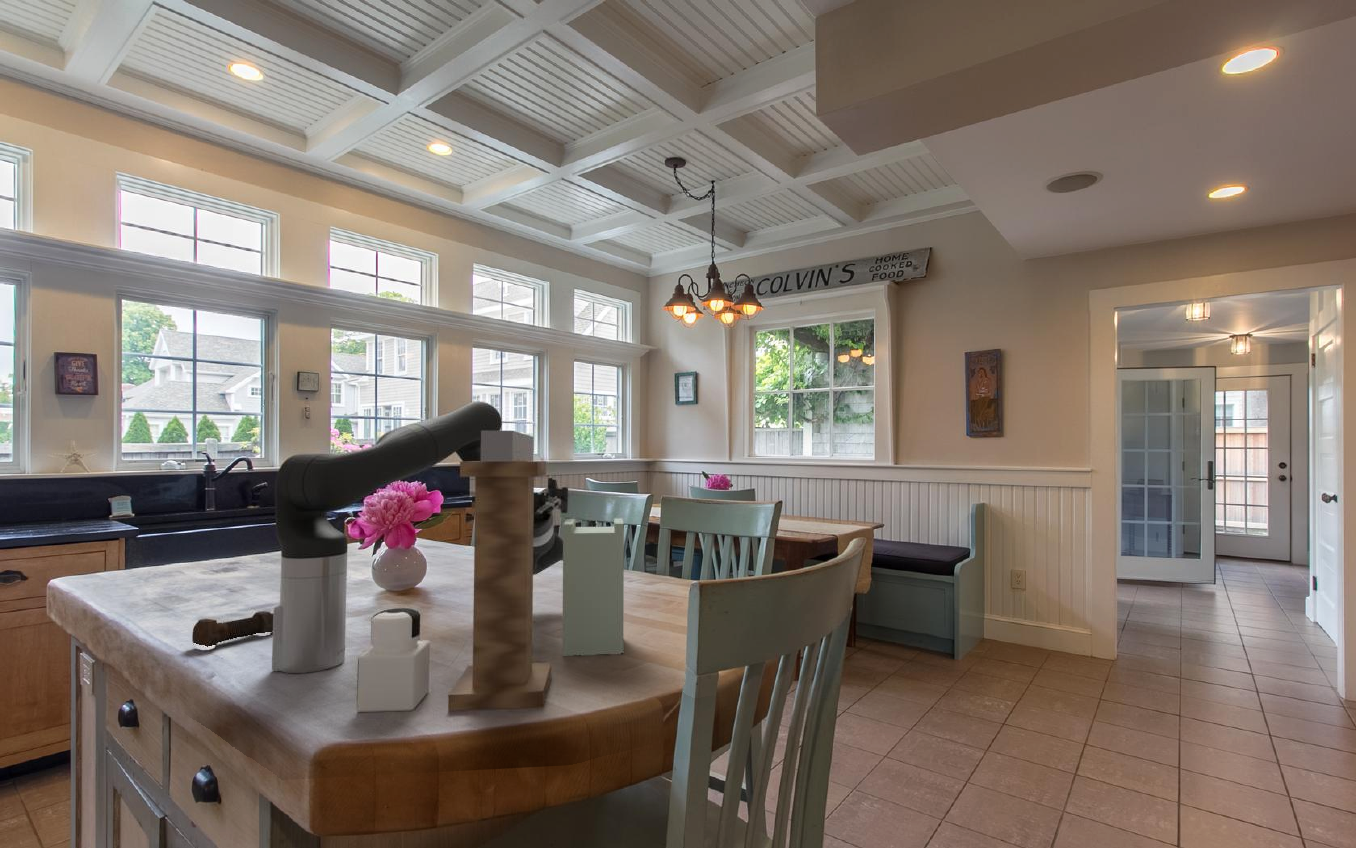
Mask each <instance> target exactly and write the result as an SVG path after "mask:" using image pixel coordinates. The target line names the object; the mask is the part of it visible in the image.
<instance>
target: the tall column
mask: <svg viewBox="0 0 1356 848" xmlns="http://www.w3.org/2000/svg"><path fill="white" fill-rule="evenodd" d="M545 475H547V461H544V460H539V461H538V460H535V461H534V460H533V461H511V462H481V461H467V462H463V461H459V477H460V478H465V477H466V478H467V477H468V478H472V477H473V478H474V479H475V483H474V488H475V491H474V544H473V545H474V548H473V549H474V551H473V552H474V553H473V555H474V556H473V560H474V561H473V565H474V567H473V568H474V569H473V615H472V617H473V618H472V619H473V627H472V631H473V632H472V665H467V667H466V668H465V670H464V671H463V673H462V674H461V676H460V677H459V679H458V680H457V681H456V683H455V684H454V686H453V687H452V689H451V691H450V692H449V694H448V699H447V701H448V702H447V703H448V707H447V711H449V712H452V711H476V710H477V711H479V710H497V709H498V710H499V709H500V710H501V709H502V710H504V709H524V708H525V709H526V708H543V707H544V704H545V700H546V697H547V693H548V689H549V685H550V682H551V677H552V662H535V663H533V619H534V618H533V614H534V611H533V607H534V606H533V604H534V603H533V602H534V600H533V598H534V593H533V591H534V590H533V589H534V575H533V519H534V493H535V492H534V491H535V487H534V486H535V477H541V476H545Z"/></svg>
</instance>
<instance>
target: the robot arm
mask: <svg viewBox="0 0 1356 848" xmlns="http://www.w3.org/2000/svg"><path fill="white" fill-rule="evenodd" d="M502 423H503V422H502V417H501V414H500V413H499V411H498V410H497V408H496V407H494V406H493V405H491V404H489V403H487V402H485V401H479V400H478V401H472V402H469V403H467V404H466V405H464V406H462V407H460V408H458V409H456V410H455V411H451V412H449V413H447V414H443V415H438V416H435V417H431V418H427V419H423V420H421V421H417V422H413V423H409V424H406V425H403V426H400V427H396V428H394V429H392V430H389V431H388V432H386V433H384V434H383V435H382V436H381V437H380V438H378V440H376V443H375V444H374V445H372V446H370V447H366V448H363V449H358V450H355V451H349V452H341V453H340V452H339V453H298V454H294V455H292V456H290V457H288V458H287V459H286V460H284V461H283V463H282V464H281V466H280V467H279V470H278V472H277V475H276V479H275V484H274V507H275V508H274V510H275V512H274V513H275V533H276V538H277V541H278V543H279V545H280V550H281V552H280V554H281V555H280V556H281V557H280V593H279V605H277V606H274V608H273V612H272V614H273V632H272V645H271V646H272V653H271V671H272V670H280V671H279V672H283V673H288V674H299V673H302V674H303V673H311V672H319V671H323V670H328V669H331V668H333V667H336V666H339V665H340V664H342V663H344V661H345V659H346V658H345V655H346V627H347V626H346V623H347V621H346V620H347V617H346V616H347V585H348V584H347V583H348V582H347V581H348V578H347V577H348V571H347V570H348V547H349V546H348V543H349V542H348V538H347V537H348V536H347V535H346V534H345V533H343V532H341V531H340V530H338V529H336V528H335V527H334V526H333V525H332V524H331V523H330V521H329V520H328V515H327V514H328V513H329V512H336V511H340V510H344V509H346V508H348V507H350V506H352V505H354V504H355V503H357V502H359V501H361V500H362V499H364V498H365V497H367V496H369V495H370V494H372V493H374V492H375V491H377V490H379V489H380V488H383V487H385V486H387V485H390V484H392V483H396V482H398V481H401V480H403V479H405V478H408V477H411V476H415V475H417V474H419V473H421V472H423V471H426V470H428V469H430V468H431V467H433V466H437V464H439V463H440V462H442V461H444V460H445V459H447V458H449V457H450V456H451V455H453V454H455V453H456V454H457V456H458V457H459V458H460V460H461V462H467V461H481V431H501V429H502ZM568 506H569V488H568V487H565V486H563V487H561V488H559V487H558V481H557V480H556V479H553V477H552V476H548V479H547V488H546V487H545V488H544V489H542V490H541V491H540V492H534V519H533V576H535V575H538V574H540V573H541V572H544V571H545V570H546V569H548V568H550V567H551V566H553V565H555V564H556V563H558V562H560V561H563V538H561V537H560V536H559V534H557V532H556V531H555V520H554V515H553V510H558V511H560V513H561V514H567V513H568V510H569V509H568ZM327 512H328V513H327Z"/></svg>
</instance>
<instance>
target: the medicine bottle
mask: <svg viewBox="0 0 1356 848" xmlns="http://www.w3.org/2000/svg"><path fill="white" fill-rule="evenodd" d="M370 621H371V623H370V645H371V647H370V648H368V649H367V650H366V651H365V652H363V653H362V654H360V655H359V656H358V658H357V687H356V689H357V691H356V711H357V712H358V713H377V712H381V713H382V712H383V713H384V712H407V711H410V712H411V711H413V710H414V709H416V707H417V706H418V705H419V703H421V701H422V700H423V699H424V698H425V696H426V695H427V694H428V693H429V691H430V664H431V663H430V659H431V658H430V656H431V655H430V653H431V651H430V650H431V642H430V641H429V640H428V639H427V640H420V638H421V637H420V636H421V613H420V612H419V611H418V610H415V609H413V608H408V607H407V608H406V607H404V608H403V607H399V608H398V607H397V608H396V607H395V608H391V609H390V608H389V609H384V610H380V611H379V612H377V613H376V614H373V616H372V617H371V619H370Z"/></svg>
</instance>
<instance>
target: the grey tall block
mask: <svg viewBox="0 0 1356 848" xmlns="http://www.w3.org/2000/svg"><path fill="white" fill-rule="evenodd" d="M562 528H563V530H562V533H563V535H562V540H563V559H562V632H561V633H562V639H561V640H562V642H561V643H562V648H561V649H562V651H561V653H562V655H561V656H562V657H575V656H574V655H577V656H578V655H581V656H596V655H595V654H610V655H622V654H621V653H623V654H624V601H625V600H624V592H625V591H624V585H625V584H624V581H625V580H624V578H625V577H624V575H625V574H624V572H625V571H624V563H625V562H624V561H625V560H624V558H625V555H624V552H625V551H624V548H625V547H624V545H625V544H624V543H625V542H624V541H625V537H624V535H625V533H624V531H625V529H624V528H625V524H624V519H623V518H622V517H621V518H619V517H618V518H617V517H616V518H613V526H576V518H566V520H565V521H564V523H563V525H562Z"/></svg>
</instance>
